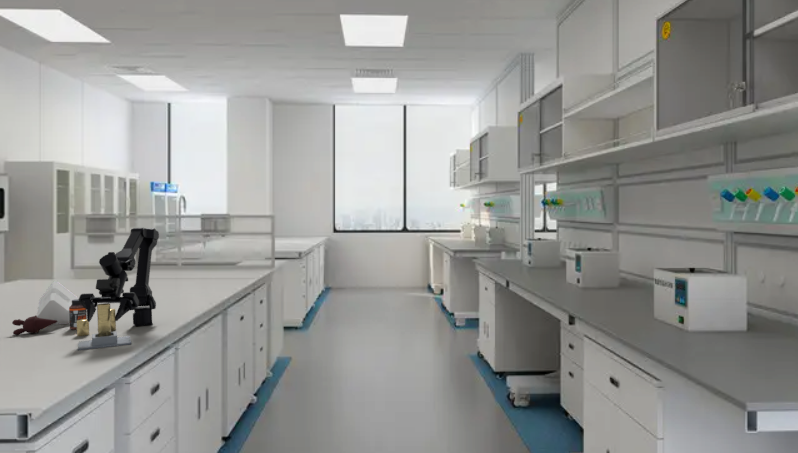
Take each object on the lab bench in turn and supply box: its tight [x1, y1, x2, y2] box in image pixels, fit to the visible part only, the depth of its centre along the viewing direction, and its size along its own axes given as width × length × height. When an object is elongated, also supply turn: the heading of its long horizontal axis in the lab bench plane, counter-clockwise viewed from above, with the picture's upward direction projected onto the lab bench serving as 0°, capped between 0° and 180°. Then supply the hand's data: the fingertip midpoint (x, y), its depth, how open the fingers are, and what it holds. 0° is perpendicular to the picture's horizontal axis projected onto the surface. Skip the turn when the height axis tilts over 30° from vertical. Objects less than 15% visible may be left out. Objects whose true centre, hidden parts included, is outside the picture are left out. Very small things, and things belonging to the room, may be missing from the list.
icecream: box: [12, 314, 58, 336], centre depth 221 cm, size 7×7×15 cm
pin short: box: [76, 319, 90, 337], centre depth 215 cm, size 4×4×6 cm
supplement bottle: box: [69, 298, 87, 331], centre depth 228 cm, size 6×6×11 cm
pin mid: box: [110, 308, 117, 332], centre depth 223 cm, size 4×4×8 cm
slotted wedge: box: [36, 280, 79, 326], centre depth 239 cm, size 14×11×18 cm
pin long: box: [96, 303, 112, 337], centre depth 200 cm, size 4×4×13 cm
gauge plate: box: [77, 331, 132, 351], centre depth 200 cm, size 16×12×3 cm
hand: (102, 320), depth 198 cm, fingers open, 9 cm apart
